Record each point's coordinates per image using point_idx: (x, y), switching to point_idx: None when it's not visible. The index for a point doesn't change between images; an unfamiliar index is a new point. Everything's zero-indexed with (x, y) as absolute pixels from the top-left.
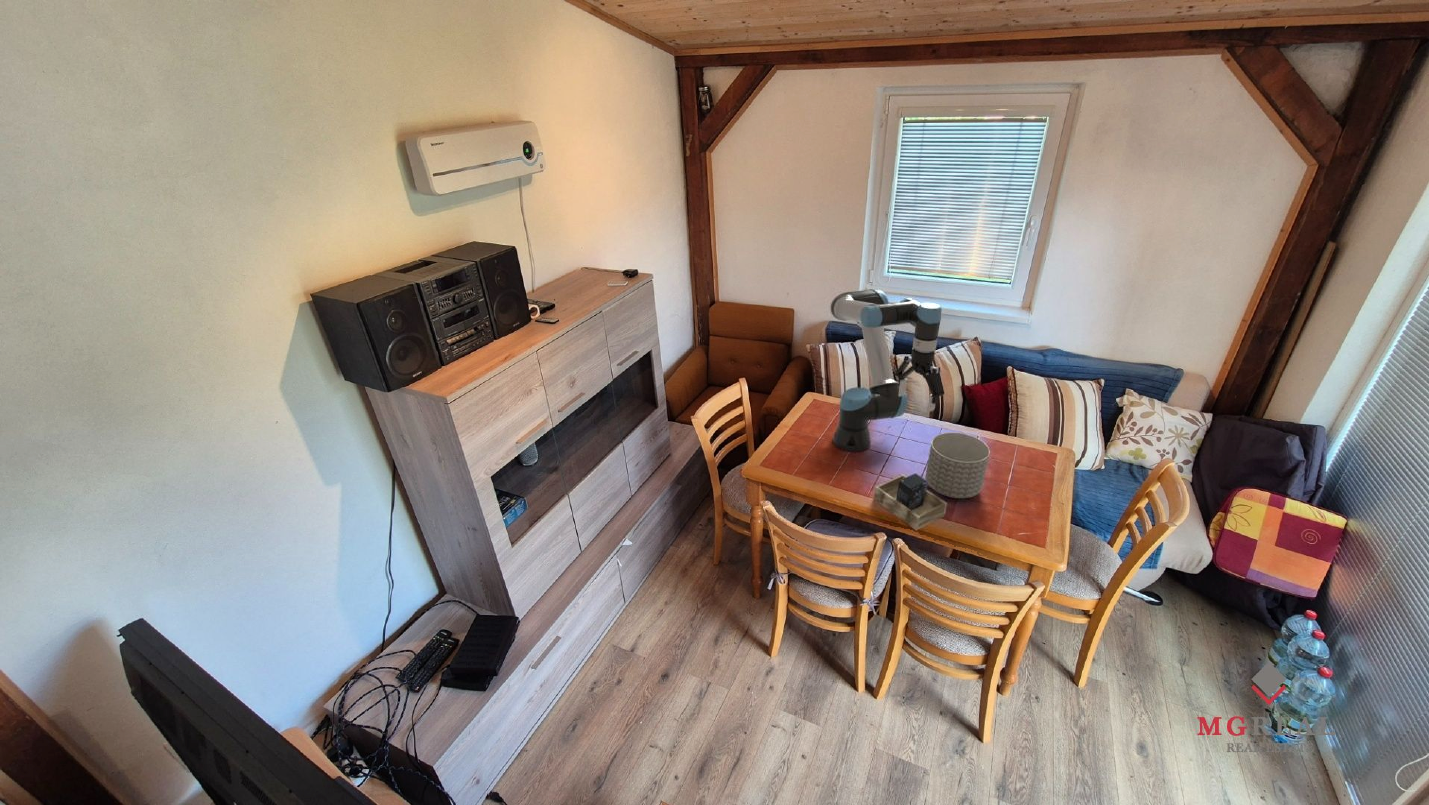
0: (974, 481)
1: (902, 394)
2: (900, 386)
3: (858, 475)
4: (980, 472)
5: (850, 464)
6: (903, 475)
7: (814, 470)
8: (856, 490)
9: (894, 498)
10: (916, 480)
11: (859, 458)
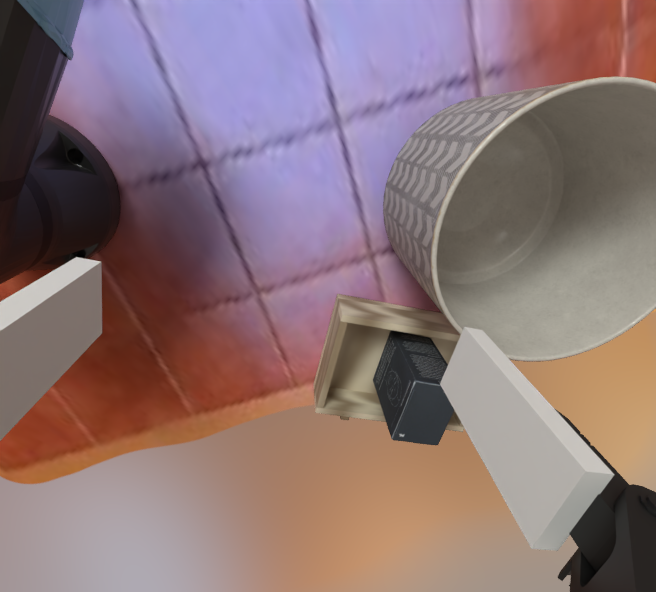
0: (587, 258)
1: (93, 306)
2: (11, 415)
3: (215, 334)
4: (628, 251)
5: (156, 308)
6: (347, 320)
7: (114, 397)
8: (259, 386)
9: (358, 362)
10: (435, 410)
11: (148, 261)
